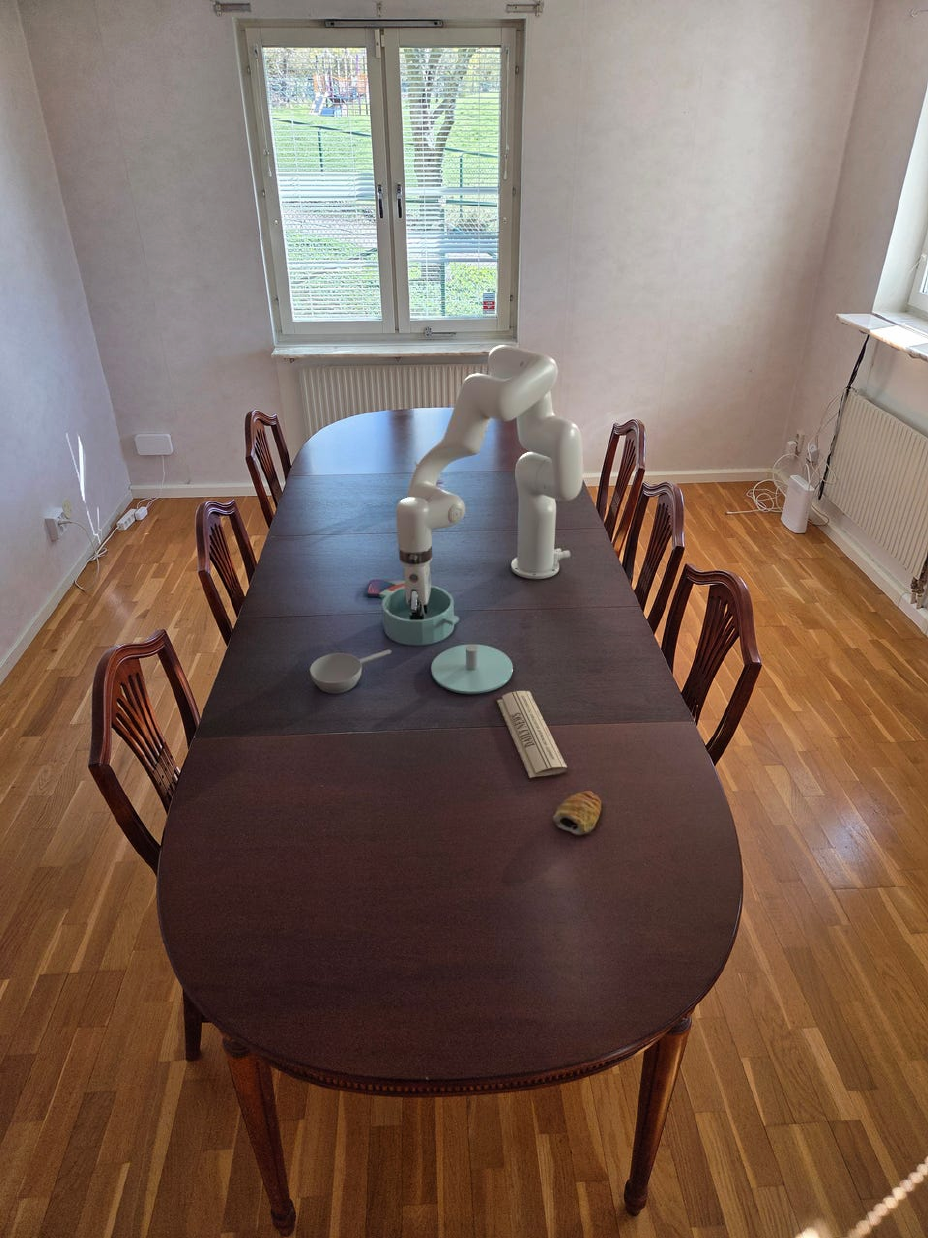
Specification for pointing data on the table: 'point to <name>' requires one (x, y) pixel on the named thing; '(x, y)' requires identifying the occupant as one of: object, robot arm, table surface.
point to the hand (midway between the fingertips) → (418, 620)
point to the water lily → (439, 482)
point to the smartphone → (383, 586)
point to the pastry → (578, 813)
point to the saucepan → (339, 671)
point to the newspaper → (531, 734)
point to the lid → (472, 669)
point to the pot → (418, 620)
